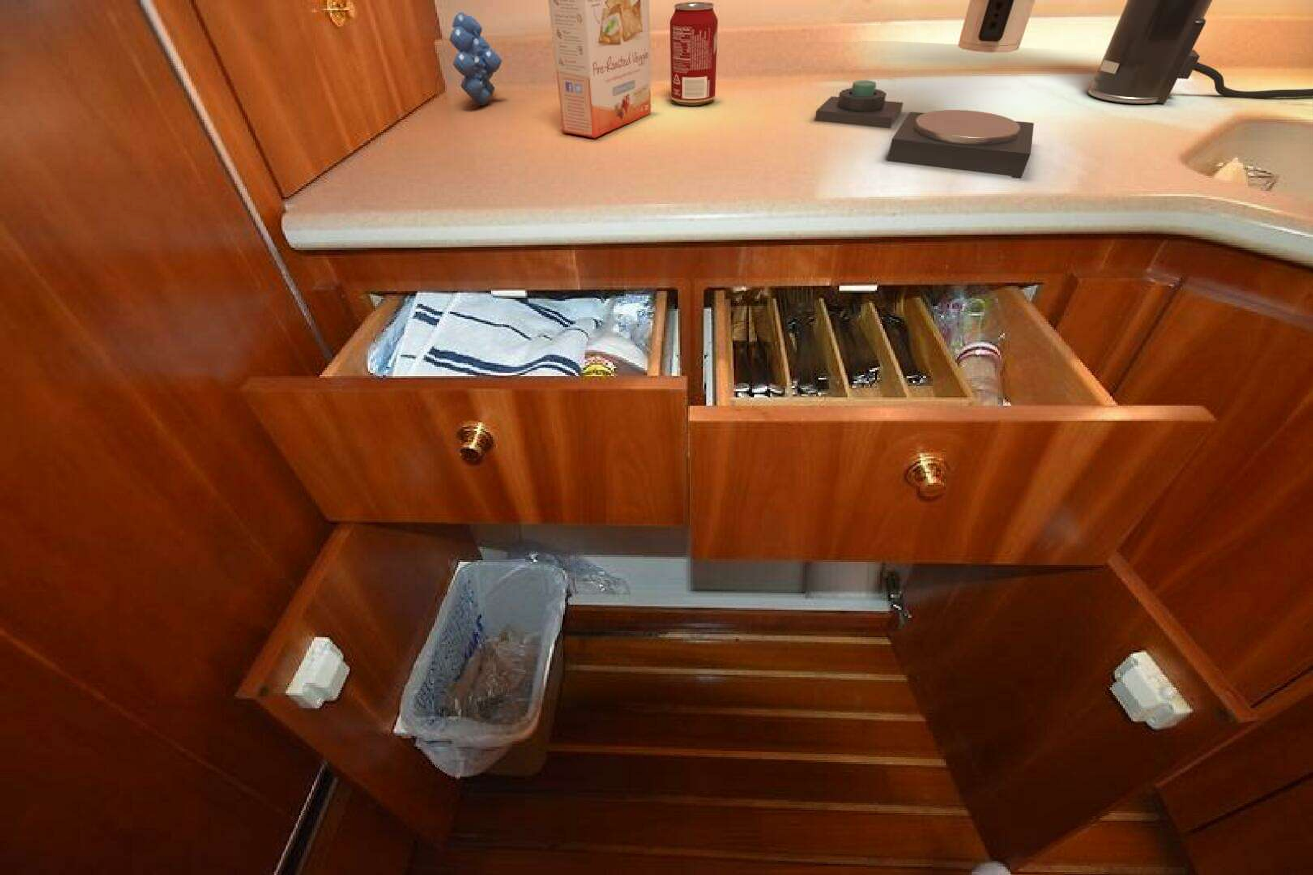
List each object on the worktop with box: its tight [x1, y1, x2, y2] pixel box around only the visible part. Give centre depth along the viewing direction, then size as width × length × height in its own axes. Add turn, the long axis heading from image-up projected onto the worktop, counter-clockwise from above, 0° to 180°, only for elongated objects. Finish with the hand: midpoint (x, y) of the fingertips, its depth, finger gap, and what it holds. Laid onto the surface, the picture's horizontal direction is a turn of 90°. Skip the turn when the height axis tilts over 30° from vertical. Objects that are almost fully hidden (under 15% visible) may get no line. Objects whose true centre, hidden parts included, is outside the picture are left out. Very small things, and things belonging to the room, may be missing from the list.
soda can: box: [669, 1, 719, 107], centre depth 85 cm, size 7×7×12 cm
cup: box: [957, 0, 1036, 54], centre depth 60 cm, size 6×6×6 cm
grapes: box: [449, 11, 503, 107], centre depth 87 cm, size 12×7×12 cm, turn 177°
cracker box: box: [548, 0, 652, 139], centre depth 75 cm, size 14×6×21 cm, turn 148°
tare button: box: [851, 80, 877, 97], centre depth 78 cm, size 3×3×2 cm
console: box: [814, 87, 904, 129], centre depth 80 cm, size 10×8×3 cm
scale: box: [886, 109, 1035, 179], centre depth 68 cm, size 14×12×3 cm
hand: (991, 34), depth 61 cm, fingers closed on cup, 6 cm apart
